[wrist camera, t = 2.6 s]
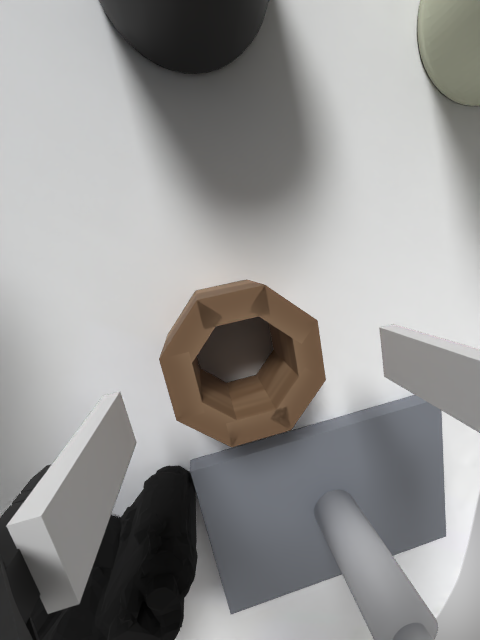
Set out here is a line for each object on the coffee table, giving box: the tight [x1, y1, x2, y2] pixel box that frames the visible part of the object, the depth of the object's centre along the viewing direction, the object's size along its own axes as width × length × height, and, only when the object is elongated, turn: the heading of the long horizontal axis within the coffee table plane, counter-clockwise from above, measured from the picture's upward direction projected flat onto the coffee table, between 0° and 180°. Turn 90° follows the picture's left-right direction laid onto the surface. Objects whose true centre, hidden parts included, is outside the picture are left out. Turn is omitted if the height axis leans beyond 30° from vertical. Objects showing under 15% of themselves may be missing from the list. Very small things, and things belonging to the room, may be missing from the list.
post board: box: [190, 395, 446, 640], centre depth 18 cm, size 20×14×11 cm
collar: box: [159, 280, 326, 447], centre depth 17 cm, size 8×8×5 cm
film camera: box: [30, 466, 197, 640], centre depth 16 cm, size 15×10×9 cm, turn 142°
